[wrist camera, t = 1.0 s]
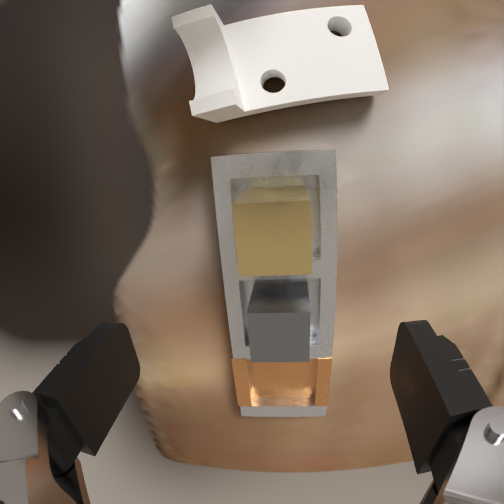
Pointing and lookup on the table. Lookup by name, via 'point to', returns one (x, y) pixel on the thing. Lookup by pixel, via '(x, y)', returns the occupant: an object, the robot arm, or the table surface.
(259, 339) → the brushed steel cube
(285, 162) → the grey long flat tray
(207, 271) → the table surface
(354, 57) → the bracket
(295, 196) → the yellow gold block
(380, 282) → the table surface
